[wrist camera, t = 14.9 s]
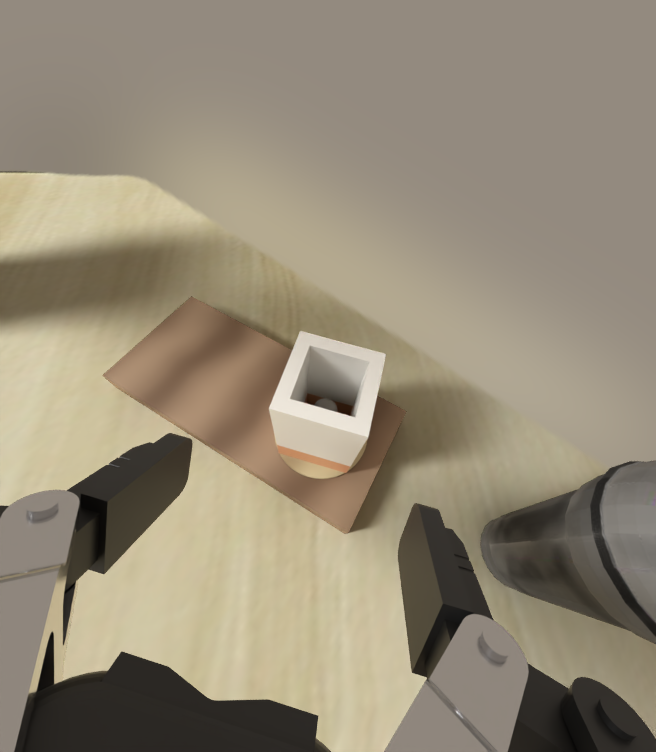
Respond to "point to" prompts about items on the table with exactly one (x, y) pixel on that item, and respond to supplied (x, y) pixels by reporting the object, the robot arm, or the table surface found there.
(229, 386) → the pin board
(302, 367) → the sleeve
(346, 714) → the table surface
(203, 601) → the table surface
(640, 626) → the beverage cup
